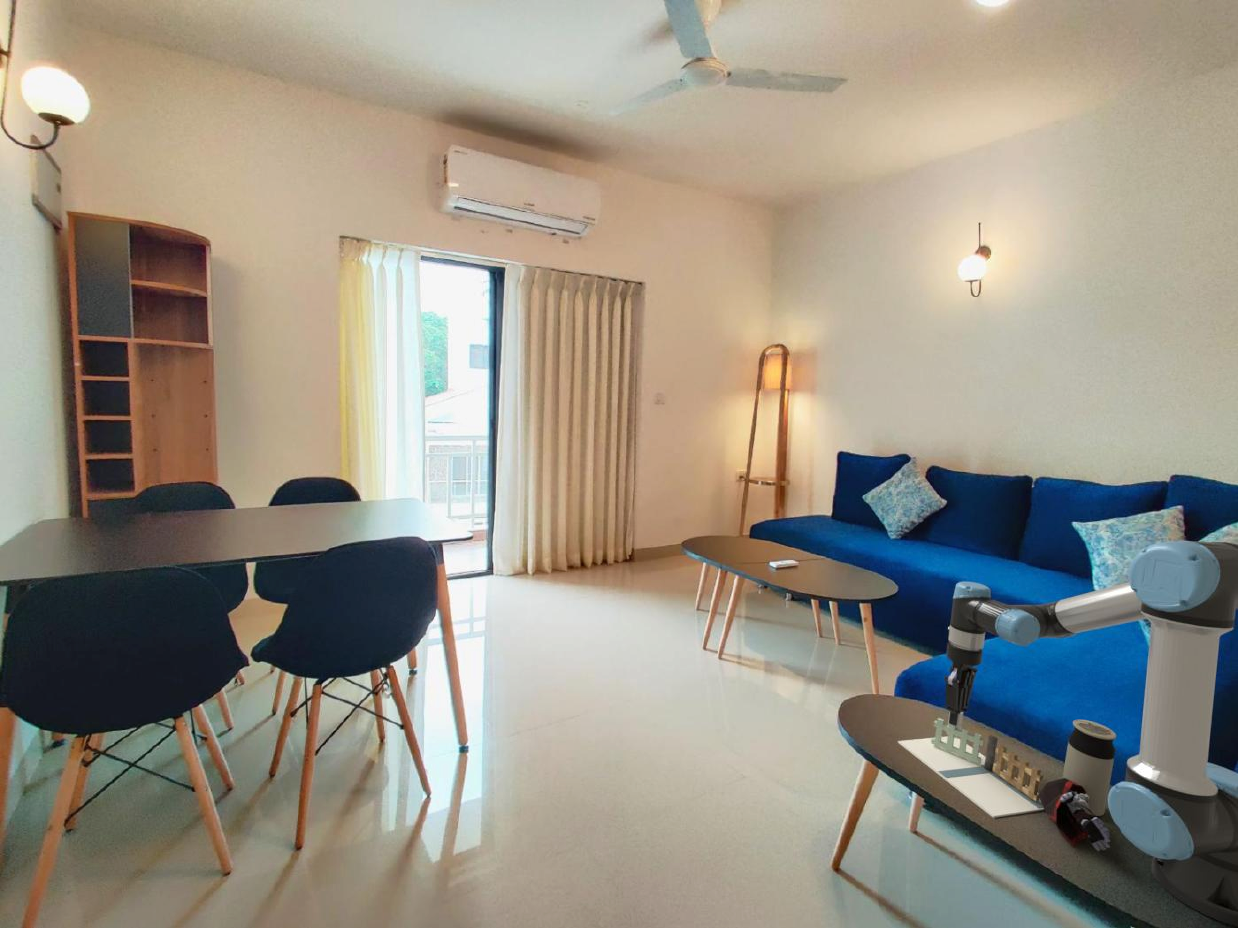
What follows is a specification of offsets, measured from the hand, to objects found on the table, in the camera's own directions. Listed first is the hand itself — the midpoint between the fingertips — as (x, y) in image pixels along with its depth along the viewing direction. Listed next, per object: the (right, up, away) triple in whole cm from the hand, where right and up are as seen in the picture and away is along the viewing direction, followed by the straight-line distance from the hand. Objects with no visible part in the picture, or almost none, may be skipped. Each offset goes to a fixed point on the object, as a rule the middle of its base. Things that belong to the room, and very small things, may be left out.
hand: (953, 735), depth 149 cm
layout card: (0, -5, -8) cm, 9 cm away
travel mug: (+19, -8, -17) cm, 27 cm away
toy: (+9, -8, -26) cm, 29 cm away
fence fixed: (+6, -6, -12) cm, 15 cm away
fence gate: (0, -4, -2) cm, 4 cm away
